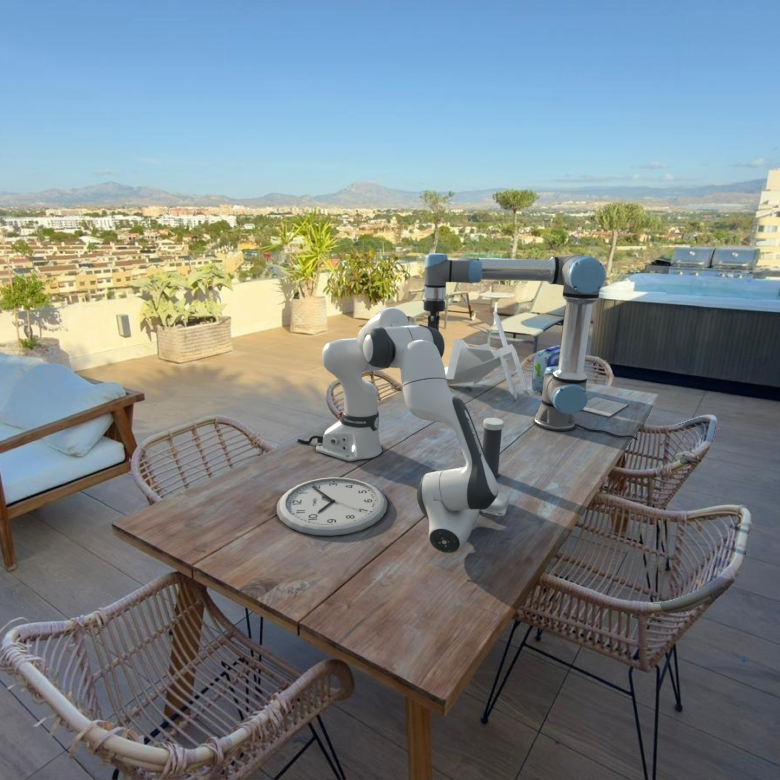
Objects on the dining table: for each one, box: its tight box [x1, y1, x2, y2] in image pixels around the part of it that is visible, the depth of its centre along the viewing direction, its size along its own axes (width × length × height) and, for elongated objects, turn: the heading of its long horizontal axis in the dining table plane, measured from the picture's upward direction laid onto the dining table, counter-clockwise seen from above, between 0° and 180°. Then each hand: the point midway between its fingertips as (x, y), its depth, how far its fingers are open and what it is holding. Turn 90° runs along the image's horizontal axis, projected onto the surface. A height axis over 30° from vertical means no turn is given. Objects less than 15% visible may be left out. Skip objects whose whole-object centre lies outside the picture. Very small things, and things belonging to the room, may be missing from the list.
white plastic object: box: [444, 310, 531, 400], centre depth 245 cm, size 37×45×31 cm
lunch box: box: [531, 345, 561, 393], centre depth 245 cm, size 26×11×21 cm, turn 134°
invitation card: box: [581, 396, 629, 418], centre depth 226 cm, size 21×1×15 cm
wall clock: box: [276, 476, 388, 537], centre depth 142 cm, size 30×2×30 cm
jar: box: [482, 427, 503, 479], centre depth 160 cm, size 5×5×17 cm
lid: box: [482, 417, 504, 430], centre depth 157 cm, size 6×6×2 cm
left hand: (475, 484), depth 143 cm, fingers open, 8 cm apart
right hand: (432, 358), depth 188 cm, fingers open, 13 cm apart
